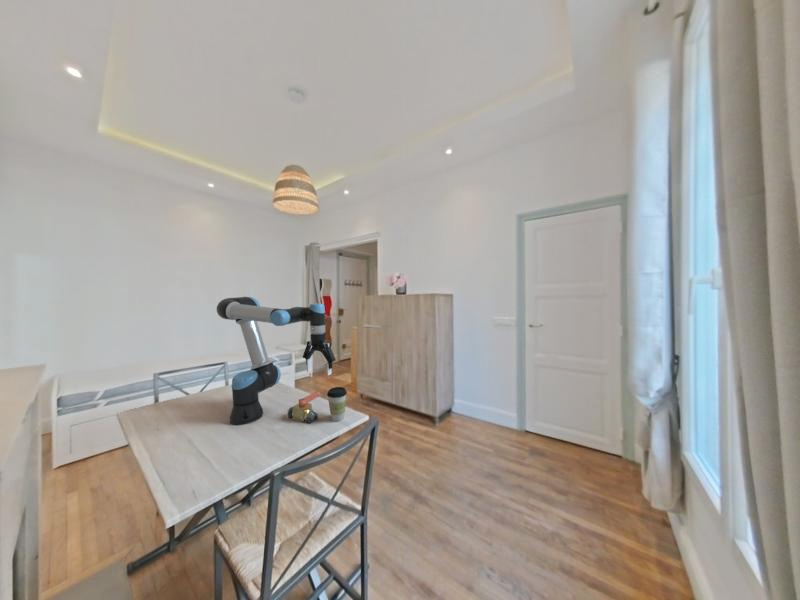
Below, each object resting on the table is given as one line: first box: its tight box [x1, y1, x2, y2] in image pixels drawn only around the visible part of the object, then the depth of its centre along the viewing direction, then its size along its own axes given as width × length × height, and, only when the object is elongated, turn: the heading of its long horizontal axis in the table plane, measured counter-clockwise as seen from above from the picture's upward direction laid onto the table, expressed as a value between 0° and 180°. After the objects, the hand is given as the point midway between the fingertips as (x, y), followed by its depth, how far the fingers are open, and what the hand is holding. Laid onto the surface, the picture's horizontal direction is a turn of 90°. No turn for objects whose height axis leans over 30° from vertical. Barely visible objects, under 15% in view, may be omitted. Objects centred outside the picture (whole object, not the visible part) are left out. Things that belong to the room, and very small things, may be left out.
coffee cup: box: [326, 386, 348, 423], centre depth 139 cm, size 10×10×15 cm
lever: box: [298, 391, 321, 406], centre depth 145 cm, size 14×3×3 cm, turn 155°
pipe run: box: [287, 402, 319, 425], centre depth 140 cm, size 16×6×8 cm, turn 65°
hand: (319, 372), depth 143 cm, fingers open, 13 cm apart
